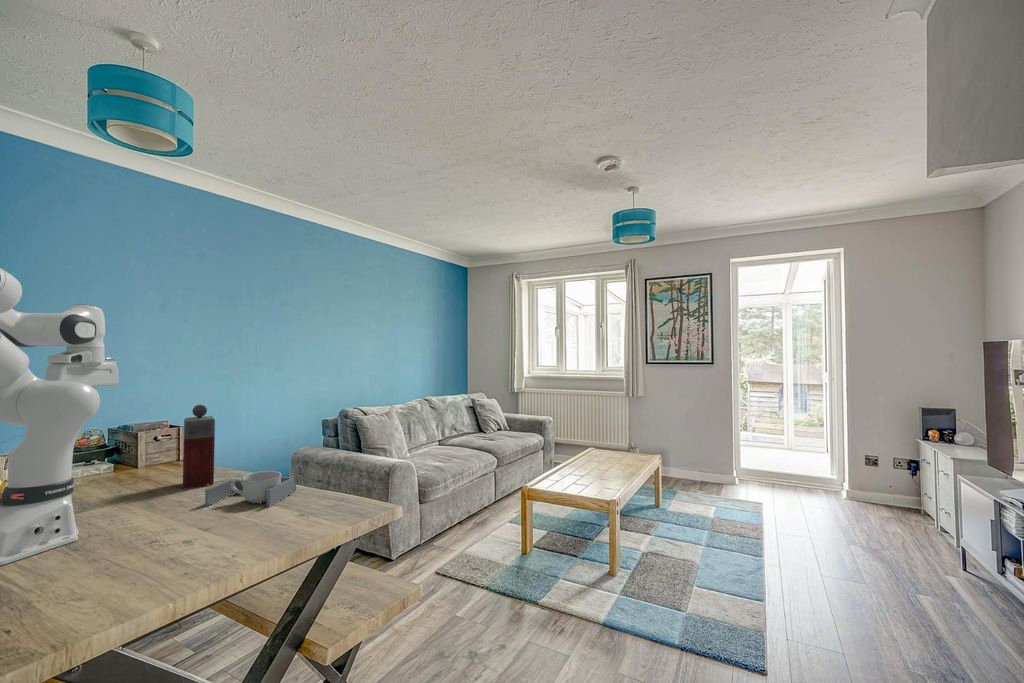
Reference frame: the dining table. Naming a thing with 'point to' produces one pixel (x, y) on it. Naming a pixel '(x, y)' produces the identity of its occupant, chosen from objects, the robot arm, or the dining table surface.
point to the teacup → (257, 485)
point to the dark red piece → (198, 449)
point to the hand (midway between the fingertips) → (84, 402)
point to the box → (225, 490)
